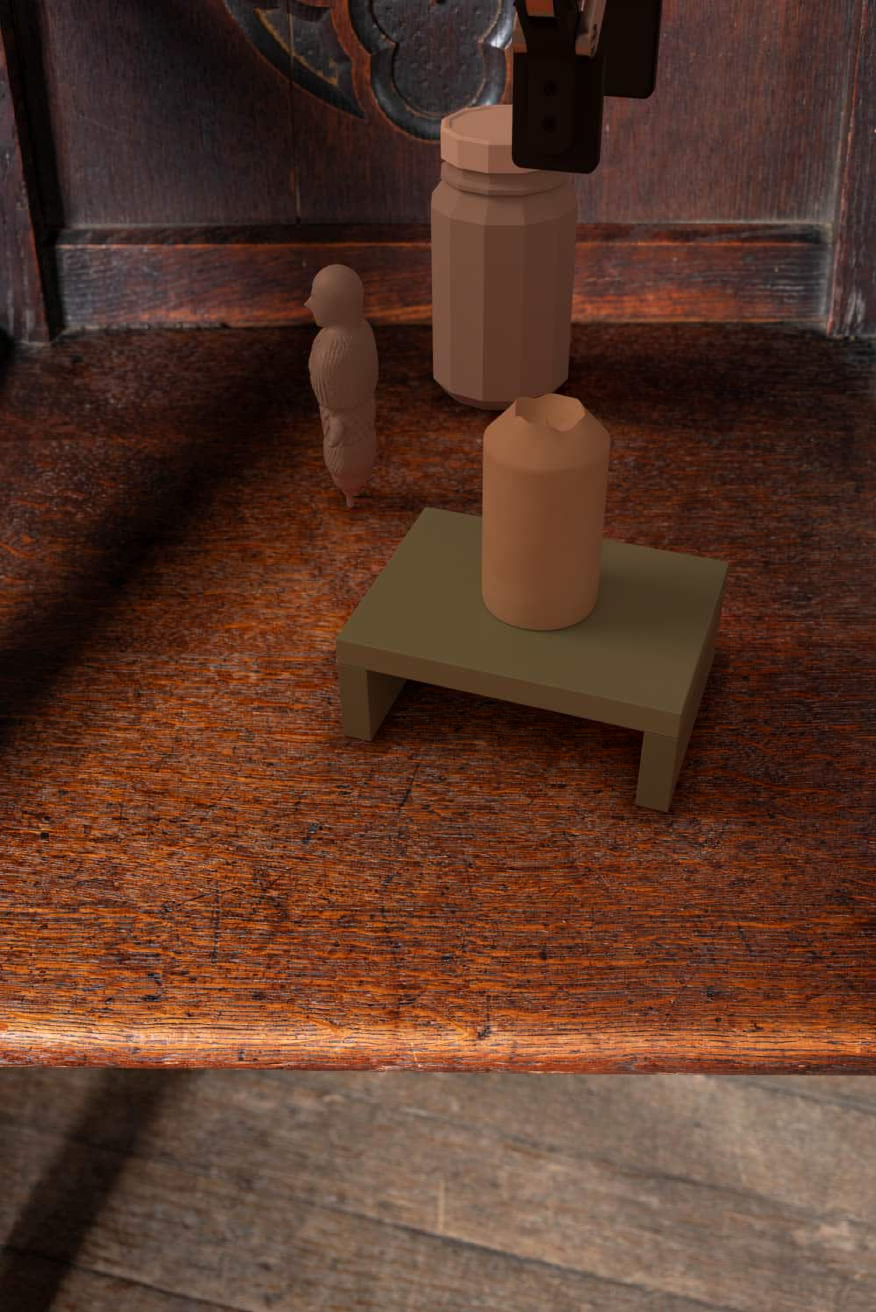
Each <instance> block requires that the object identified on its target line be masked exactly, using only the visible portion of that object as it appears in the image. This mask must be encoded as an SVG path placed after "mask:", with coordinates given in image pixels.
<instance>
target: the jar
mask: <svg viewBox="0 0 876 1312" xmlns="http://www.w3.org/2000/svg"><path fill="white" fill-rule="evenodd" d="M440 158H441V159H442V160H444V162H441V165H440V167H441V168H440V181H439V183H438V184H437V185H436V186H435V188H434V189H433V191H432V193H431V202H430V232H431V233H430V235H431V236H430V237H431V238H430V241H431V244H430V245H431V293H432V294H431V302H432V304H431V305H432V307H431V309H432V311H431V313H432V373H433V377H432V378H433V379H434V381H435V382H436V383H438V385H439V386H440V387H441V388H442V389H443V391H444V392H445V393H447V394H448V395H449V396H450V397H452V398H453V399H454V400H455V401H456V402H457V403H458V404H462V405H466V406H468V407H472V408H476V409H479V410H483V411H506V410H507V409H508V408H509V407H510V406H511V405H512V404H513V403H514V402H515V401H516V400H517V399H518V398H519V397H528V398H533V399H536V398H539V397H542V396H544V395H546V394H555V393H556V392H557V390H558V389H559V388H560V387H562V386H563V384H564V383H565V382H566V381H567V380H568V379H569V363H570V362H569V361H570V345H571V331H572V330H571V328H572V311H573V296H574V295H573V294H574V277H575V261H576V242H577V228H578V227H577V225H578V224H577V223H578V211H579V210H578V209H579V205H578V200H577V192H576V191H575V190H574V188H573V186H572V185H571V184H570V182H569V181H568V180H570V173H569V172H558V171H548V170H537V169H526V168H519V167H517V166H516V165H515V164H514V163H513V161H512V104H486V105H479V106H473V107H467V108H462V109H460V110H457V111H455V112H454V113H451V114H449V115H447V116H445V117H444V118H442V119H441V123H440Z"/></svg>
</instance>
